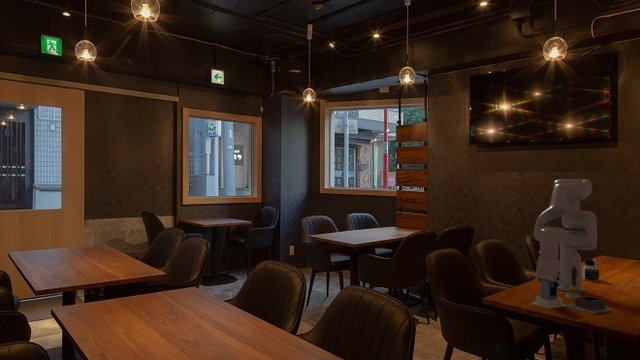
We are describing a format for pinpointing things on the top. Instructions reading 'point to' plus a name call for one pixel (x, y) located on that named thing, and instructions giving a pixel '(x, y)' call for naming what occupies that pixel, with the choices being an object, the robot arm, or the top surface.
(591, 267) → the medicine bottle
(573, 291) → the hand bell
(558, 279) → the robot arm
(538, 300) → the box
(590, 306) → the port
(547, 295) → the plug
